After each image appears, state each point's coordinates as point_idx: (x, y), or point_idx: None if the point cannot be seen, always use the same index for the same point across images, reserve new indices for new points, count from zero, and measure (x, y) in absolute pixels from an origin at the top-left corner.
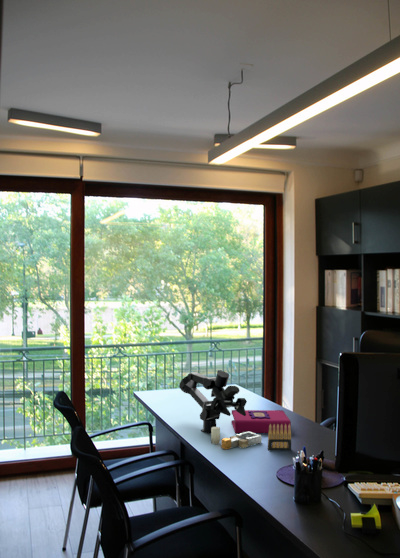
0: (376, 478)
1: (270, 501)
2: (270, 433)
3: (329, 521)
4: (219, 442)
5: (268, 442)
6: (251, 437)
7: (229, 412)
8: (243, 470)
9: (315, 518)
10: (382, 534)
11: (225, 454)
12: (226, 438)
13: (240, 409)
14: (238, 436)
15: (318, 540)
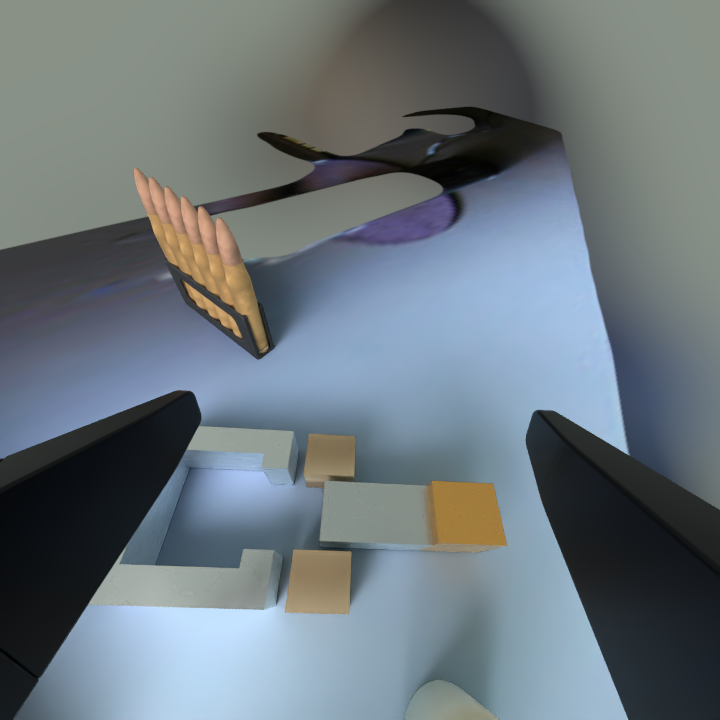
0: (266, 139)
1: (547, 189)
2: (247, 272)
3: (491, 139)
4: (420, 690)
5: (261, 323)
6: (246, 441)
7: (568, 429)
8: (521, 289)
9: (505, 147)
10: (451, 113)
11: (506, 443)
12: (456, 526)
13: (3, 589)
14: (273, 561)
15: (541, 135)
